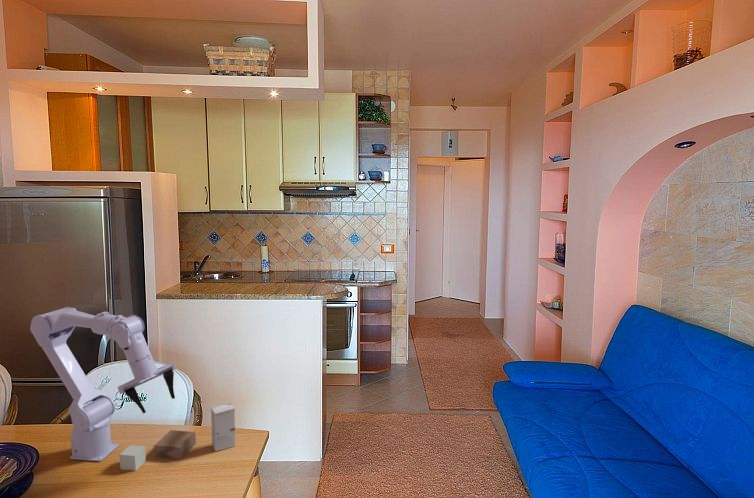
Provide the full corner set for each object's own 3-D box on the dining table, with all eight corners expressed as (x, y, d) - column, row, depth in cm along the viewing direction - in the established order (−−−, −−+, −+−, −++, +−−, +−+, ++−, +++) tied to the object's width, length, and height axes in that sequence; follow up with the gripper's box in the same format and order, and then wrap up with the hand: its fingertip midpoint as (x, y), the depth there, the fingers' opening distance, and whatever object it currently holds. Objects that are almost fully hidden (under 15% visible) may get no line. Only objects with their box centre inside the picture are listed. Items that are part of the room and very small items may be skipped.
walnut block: (155, 458, 128) (154, 445, 128) (171, 442, 136) (170, 430, 136) (181, 460, 127) (180, 447, 127) (196, 444, 135) (195, 432, 134)
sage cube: (120, 469, 123) (119, 454, 122) (131, 459, 127) (130, 445, 126) (135, 470, 122) (134, 455, 121) (145, 460, 127) (144, 446, 126)
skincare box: (215, 452, 131) (213, 414, 129) (211, 444, 134) (209, 407, 133) (236, 445, 134) (235, 408, 132) (232, 438, 138) (230, 402, 136)
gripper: (111, 373, 114) (131, 421, 114) (169, 348, 122) (188, 393, 122) (110, 371, 120) (130, 417, 120) (166, 347, 128) (184, 390, 128)
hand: (159, 405), depth 122 cm, fingers open, 7 cm apart
